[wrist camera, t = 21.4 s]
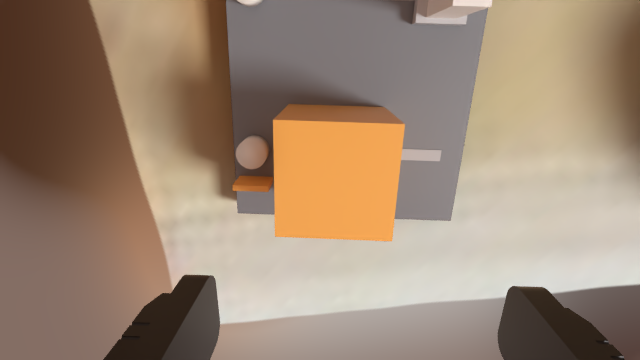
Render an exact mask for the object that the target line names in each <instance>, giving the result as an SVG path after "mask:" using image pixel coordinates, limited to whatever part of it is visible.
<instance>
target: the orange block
mask: <svg viewBox="0 0 640 360" xmlns="http://www.w3.org/2000/svg"><path fill="white" fill-rule="evenodd" d="M404 129H405V124H404V123H403V122H402V121H401V120H399V119H398V118H397V117H396V116H395V115H393V114H392V113H391V112H390V111H389V110H387V109H386V108H385V107H368V106H337V105H305V104H288V105H287V106H286V107H285V108H284V109H283V110H282V111H281V112H280V113H279V114H278V115H277V116H276V117H275V118H274V119H273V148H274V203H275V237H299V238H324V239H350V240H375V241H392V236H393V227H394V218H395V210H396V201H397V192H398V183H399V174H400V165H401V156H402V147H403V138H404Z"/></svg>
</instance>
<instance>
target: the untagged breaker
mask: <svg viewBox="0 0 640 360" xmlns="http://www.w3.org/2000/svg"><path fill="white" fill-rule="evenodd" d="M491 5H492V0H415V4H414V13H413V22H412V24H421V25H453V26H462V25H466V22H467V15H469V14H472V13H474V12H477V11H480V10H483V9H486V8H489V7H491Z"/></svg>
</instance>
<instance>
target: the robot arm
mask: <svg viewBox="0 0 640 360" xmlns="http://www.w3.org/2000/svg"><path fill="white" fill-rule="evenodd" d="M219 327H220V318H219V309H218V300H217V290H216V282H215V278H214V276H208V275H184V276H183V277H182V278H181V280H180V281H179V282H178V284H177V285H176V287H175V288H174V290H173V291H172V293H171V294H169V293H162V294H161V295H160V296H158V297H157V298H155V299H154V300H153V301H151V302H150V303H148V304H147V305H146V306H144V308H143V309H142V310H141V312H140V313H139V314H138V316H137V317H136V318H135V320H134V321H133V322H132V325H130V326H129V327H128V329H127V330H126V331H125V332H124V334H123V335H122V338H121V339H119V340H118V341H117V343H116V344H115V346H114V347H113V348H112V349H111V351H110V352H109V353H108V354H107V356H106V357H105V358H104V359H103V360H210V358H211V355H212V353H213V351H214V348H215V346H216V343H217V340H218V335H219ZM498 344H499V348H500V352H501V354H502V357H503V359H504V360H624V356H623V355H622V354H621V353H620V352H619V351H618V350H617V349H616V348H615V347H614V346H613V345H610V344H609V343H608V340H607V339H606V338H605V337H604V336H603V335H602V334H601V333H600V332H599V331H598V330H597V329H596V328H595V327H594V326H593V325H592V324H591V323H589V322H588V321H587V320H585V319H584V318H582V317H581V316H579V315H578V314H576V313H574V312H573V311H571V310H570V309H569V308H564V307H563V306H562V305H561V304H560V303H559V302H558V301H557V300H556V299H555V297H554V296H553V295H552V294H551V293H550V292H549V291H548V290H547V289H545V288H543V287H520V286H512V287H511V288H510V289H509V290H508V292H507V296H506V300H505V304H504V309H503V313H502V317H501V321H500V326H499V330H498Z"/></svg>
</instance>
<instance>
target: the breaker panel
mask: <svg viewBox="0 0 640 360" xmlns="http://www.w3.org/2000/svg"><path fill="white" fill-rule="evenodd" d="M414 4H415V0H226V12H227V30H228V47H229V65H230V83H231V101H232V119H233V136H234V154H235V172H236V181H235V183H234V184H233V191H237V208H238V213H247V214H275V203H274V148H273V119H274V118H275V117H276V116H277V115H278V114H279V113H280V112H281V111H282V110H283V109H284V108H285V107H286V106H287V105H288V104H305V105H337V106H368V107H385V108H386V109H387V110H389V111H390V112H391V113H392V114H393V115H395V116H396V117H397V118H398V119H399V120H401V121H402V122H403V123H404V124H405V129H404V138H403V147H402V156H401V165H400V174H399V183H398V192H397V201H396V210H395V218H394V219H415V220H444V221H451V216H452V210H453V204H454V199H455V193H456V187H457V182H458V176H459V170H460V164H461V159H462V153H463V147H464V142H465V136H466V130H467V125H468V119H469V113H470V108H471V102H472V96H473V90H474V85H475V79H476V73H477V68H478V62H479V56H480V51H481V45H482V39H483V34H484V28H485V22H486V17H487V11H488V8H486V9H483V10H480V11H477V12H474V13H472V14H469V15H467V22H466V25H462V26H453V25H421V24H412V22H413V13H414Z"/></svg>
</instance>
